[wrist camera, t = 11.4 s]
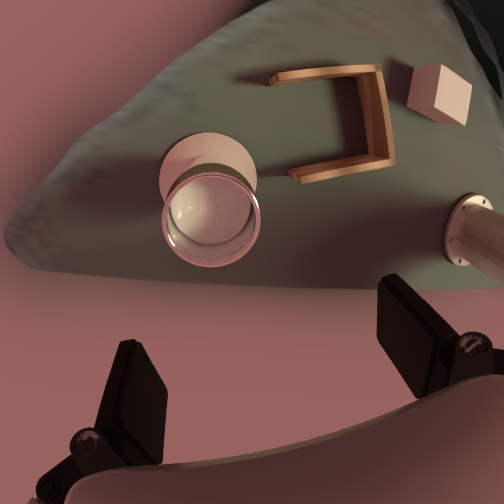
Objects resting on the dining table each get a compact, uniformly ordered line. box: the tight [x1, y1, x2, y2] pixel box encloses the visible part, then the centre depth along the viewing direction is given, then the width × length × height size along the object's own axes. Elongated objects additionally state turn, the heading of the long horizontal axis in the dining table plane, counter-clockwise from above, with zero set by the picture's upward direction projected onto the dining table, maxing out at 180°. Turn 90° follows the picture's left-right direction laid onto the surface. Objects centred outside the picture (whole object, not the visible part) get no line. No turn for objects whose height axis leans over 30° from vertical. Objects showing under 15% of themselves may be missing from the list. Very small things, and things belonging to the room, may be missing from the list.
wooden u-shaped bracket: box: [268, 64, 396, 184], centre depth 31 cm, size 12×12×5 cm
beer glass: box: [162, 155, 261, 267], centre depth 27 cm, size 7×7×15 cm
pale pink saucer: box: [159, 132, 257, 203], centre depth 34 cm, size 11×11×1 cm
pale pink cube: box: [407, 64, 472, 126], centre depth 30 cm, size 6×6×6 cm
